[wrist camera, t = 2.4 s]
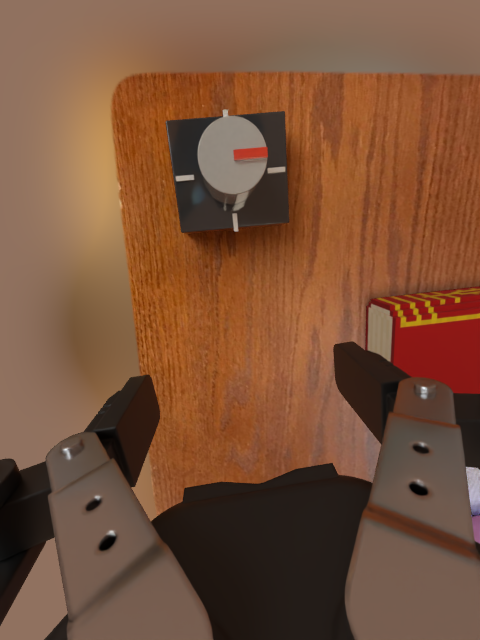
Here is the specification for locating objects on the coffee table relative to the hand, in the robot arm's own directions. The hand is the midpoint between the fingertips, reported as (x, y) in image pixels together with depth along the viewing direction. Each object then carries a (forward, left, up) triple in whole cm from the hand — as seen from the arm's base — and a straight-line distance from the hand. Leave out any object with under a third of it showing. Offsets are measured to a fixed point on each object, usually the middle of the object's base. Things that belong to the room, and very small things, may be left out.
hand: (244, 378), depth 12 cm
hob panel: (+1, +11, -16) cm, 19 cm away
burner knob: (+1, +11, -13) cm, 17 cm away
